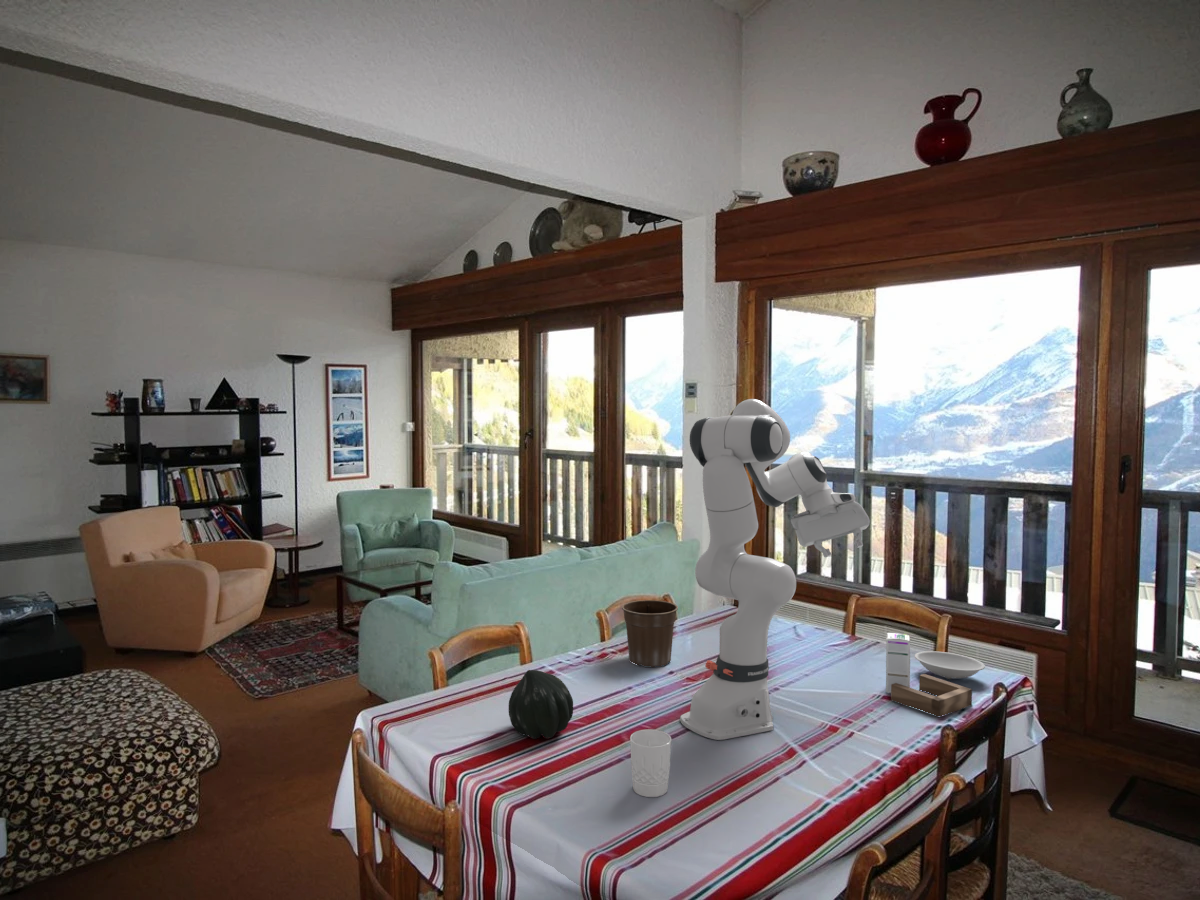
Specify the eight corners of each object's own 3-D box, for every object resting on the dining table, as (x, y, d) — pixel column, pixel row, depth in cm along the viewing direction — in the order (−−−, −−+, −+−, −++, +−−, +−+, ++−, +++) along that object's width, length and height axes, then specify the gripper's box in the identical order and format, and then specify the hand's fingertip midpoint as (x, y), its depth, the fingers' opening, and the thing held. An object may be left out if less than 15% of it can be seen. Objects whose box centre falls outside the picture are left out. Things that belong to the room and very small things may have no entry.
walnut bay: (938, 717, 177) (939, 701, 177) (890, 700, 188) (891, 684, 188) (971, 705, 185) (972, 689, 185) (923, 688, 196) (924, 673, 196)
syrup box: (909, 696, 191) (911, 640, 190) (885, 693, 193) (886, 637, 192) (909, 688, 196) (910, 634, 195) (885, 685, 198) (886, 631, 198)
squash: (595, 705, 170) (558, 650, 174) (559, 732, 157) (519, 672, 161) (557, 735, 176) (522, 681, 180) (519, 763, 163) (482, 704, 167)
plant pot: (612, 656, 221) (612, 602, 220) (659, 649, 228) (660, 597, 227) (637, 673, 207) (638, 616, 206) (687, 665, 213) (688, 610, 213)
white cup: (668, 778, 147) (668, 729, 147) (673, 799, 140) (673, 746, 139) (628, 779, 147) (628, 729, 147) (631, 799, 139) (631, 747, 139)
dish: (907, 678, 204) (907, 660, 204) (922, 664, 215) (922, 647, 215) (977, 693, 193) (978, 674, 193) (989, 678, 204) (990, 660, 204)
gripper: (790, 511, 203) (811, 557, 197) (858, 492, 206) (881, 537, 199) (785, 521, 209) (805, 566, 202) (851, 501, 211) (874, 545, 205)
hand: (844, 551), depth 201 cm, fingers open, 8 cm apart
